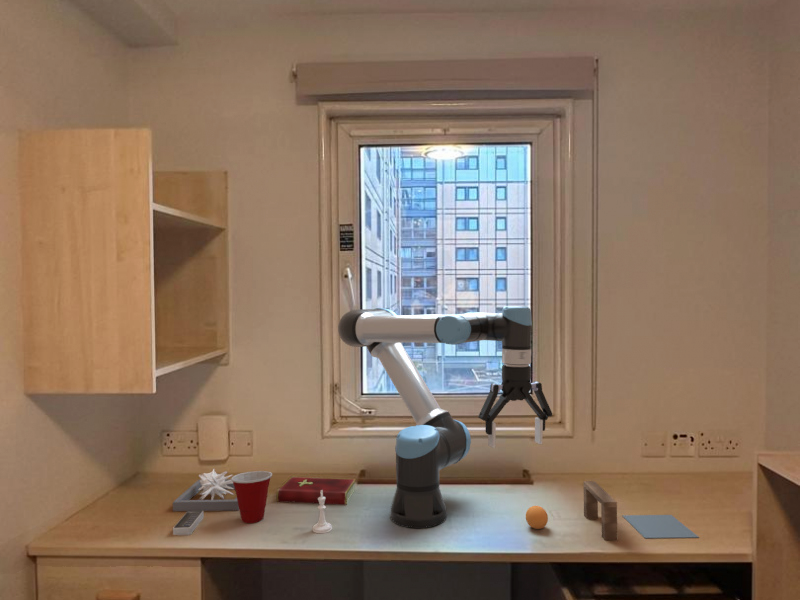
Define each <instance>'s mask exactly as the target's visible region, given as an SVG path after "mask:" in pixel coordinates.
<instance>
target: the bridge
mask: <svg viewBox="0 0 800 600" xmlns="http://www.w3.org/2000/svg"><path fill="white" fill-rule="evenodd" d="M598 502H599V503H600V505H601V506H600V507H601V510H600V511H601V538H602V539H603V540H604V541H618V501H616V500H615V499H614V498H613V497H612V496H611V495H610V494H609V493H608V492H607V491H606V490H604V489H603V487H602V486H601V485H599V483H597V482H596V481H595V480H589V481H588V480H586V481H585V480H583V516H584V518H586V519H589V520H591V519H599V507H598V506H599V503H598Z"/></svg>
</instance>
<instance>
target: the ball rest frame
mask: <svg viewBox="0 0 800 600" xmlns="http://www.w3.org/2000/svg"><path fill="white" fill-rule="evenodd" d="M200 480H201V479H197V480H196V481H195V482H194V483H193V484H192V485H191V486H189V487H188V489H186V490H185V491H184V492H183V493H182V494H181V495H180V496H178V497H177V498H176V499H175V500H174V501H172V512H187V511H204V512H205V511H206V512H211V511H212V512H213V511H214V512H215V511H218V512H220V511H221V512H222V511H240V510H239V506H238V501H237V496H236V497H235V498H234V499H213V500H211V499H203V500H202V499H193V498H194V497H195V496H196V495H197V494H198V493H199V492H200V491H201V490H198V489H199V488H201V487H202V486H201V483H200ZM229 480H231V478H227V479H225V481H229ZM226 485H227V486H229V487H232V488H234V489H233V490H235V487H234V484H226ZM223 489H225V490H228V489H227V488H223ZM193 496H194V497H193ZM192 497H193V498H192ZM191 498H192V499H191ZM190 499H191V500H190Z"/></svg>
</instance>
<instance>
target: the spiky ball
mask: <svg viewBox="0 0 800 600" xmlns="http://www.w3.org/2000/svg"><path fill="white" fill-rule="evenodd" d="M227 474H228V471H223V472H221V473H217V472H216V471H215V468H213V469H212V471H211V472H208V473H207V472H203V473H200V474H198V477H199V480H200V483H201V486H202V487H201V488H199V489H198V490H200V491H201V492H200V493H199V496H200V495H201V496H200V497H198V500H205V498H206V497H207V496H208V495H210V497H211V499H210V500H215V496H216V495H217V496H219V497H220V498H221V499H222V500H225V497H224V495H226V494H230V495H232V496H235V494H234V493H233V492H231V491H230V490H235V489H234V488H232V487H229V486H227V485H226V484H233V481H232V480H229V481H225V479H230V477H231V478H232V477H233V474H230V475H227ZM225 475H227V476H225ZM223 488H227V489H223ZM215 494H216V495H215ZM223 494H224V495H223ZM226 496H227V495H226Z"/></svg>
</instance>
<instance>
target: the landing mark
mask: <svg viewBox="0 0 800 600" xmlns="http://www.w3.org/2000/svg"><path fill="white" fill-rule="evenodd" d="M622 518H624V519H625V520H626V521H627V522H628V523H629V524H630V525H631V526H632V527H633V528H634V530H636V531H637V532H638V533H639V535H641V536H642V537H643V538H644V539H694V538H695V539H699V538H700V537H699V536H698V535H697V534H696V533H695V532H694V531H692V530H691V529H690V528H689V527H687V526H686V525H685V524H683V523H682V522H681V521H680V520H678V519H677V518H676V517H675V516H673V515H672V514H642V515H641V514H639V515H638V514H628V515H627V514H626V515H622Z"/></svg>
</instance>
